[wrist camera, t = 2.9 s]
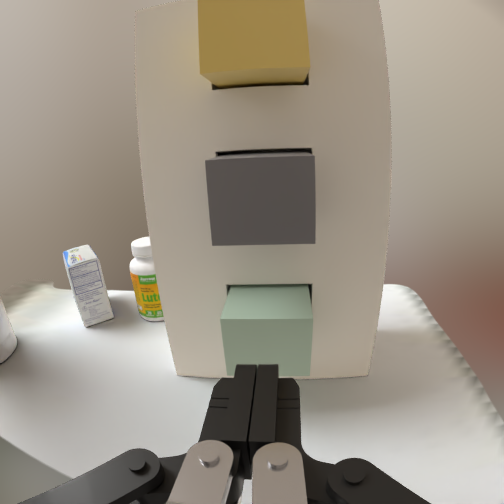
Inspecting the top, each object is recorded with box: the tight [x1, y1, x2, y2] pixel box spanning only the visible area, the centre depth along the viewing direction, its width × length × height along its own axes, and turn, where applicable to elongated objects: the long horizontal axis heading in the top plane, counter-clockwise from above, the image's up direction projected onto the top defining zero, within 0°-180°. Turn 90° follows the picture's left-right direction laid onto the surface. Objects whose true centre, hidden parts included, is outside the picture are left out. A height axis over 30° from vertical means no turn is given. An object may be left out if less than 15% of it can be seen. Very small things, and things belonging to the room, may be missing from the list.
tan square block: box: [198, 0, 310, 89], centre depth 17 cm, size 6×6×5 cm
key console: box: [135, 0, 391, 379], centre depth 26 cm, size 18×8×32 cm, turn 85°
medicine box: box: [63, 245, 114, 327], centre depth 39 cm, size 8×4×9 cm, turn 38°
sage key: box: [220, 284, 313, 376], centre depth 24 cm, size 6×6×5 cm
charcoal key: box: [205, 151, 316, 246], centre depth 21 cm, size 6×6×5 cm
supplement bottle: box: [130, 237, 164, 321], centre depth 39 cm, size 5×5×10 cm
